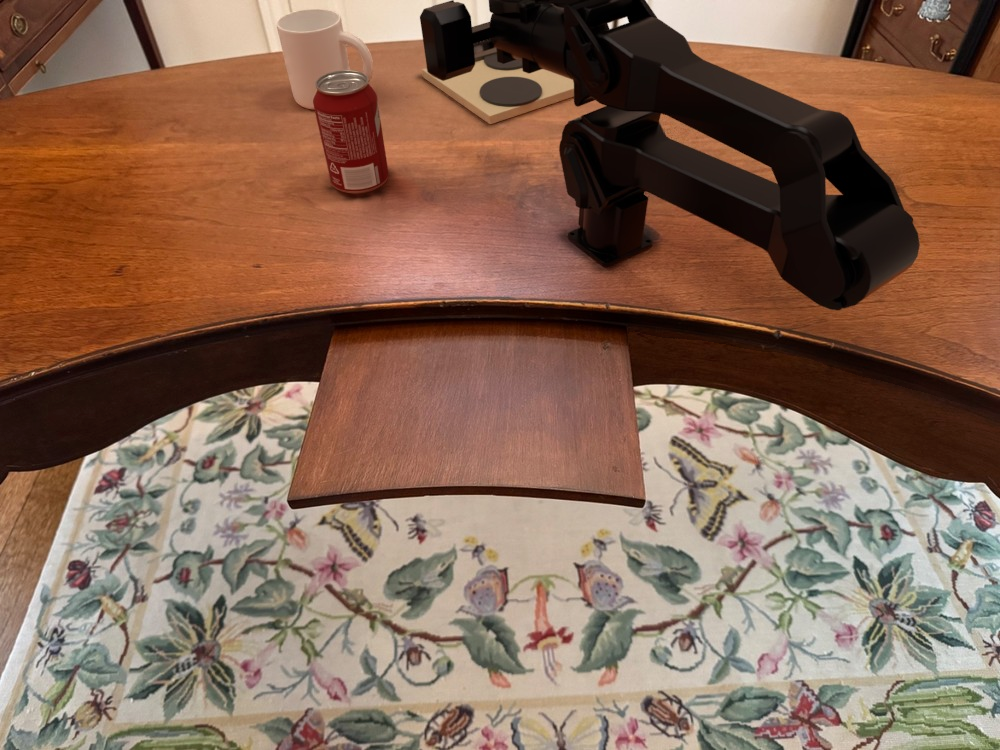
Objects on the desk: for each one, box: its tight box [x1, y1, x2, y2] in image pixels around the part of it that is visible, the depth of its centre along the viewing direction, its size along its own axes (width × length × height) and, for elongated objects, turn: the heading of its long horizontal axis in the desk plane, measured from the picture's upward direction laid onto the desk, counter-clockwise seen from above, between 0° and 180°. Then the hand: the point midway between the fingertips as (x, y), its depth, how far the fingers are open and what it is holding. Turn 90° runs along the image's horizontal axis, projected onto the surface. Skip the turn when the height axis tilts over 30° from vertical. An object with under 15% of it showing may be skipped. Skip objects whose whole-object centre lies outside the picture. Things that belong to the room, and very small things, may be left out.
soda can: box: [313, 69, 390, 195], centre depth 79 cm, size 7×7×12 cm
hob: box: [421, 48, 574, 125], centre depth 100 cm, size 18×16×2 cm
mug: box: [275, 8, 374, 111], centre depth 95 cm, size 12×8×10 cm
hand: (460, 8), depth 76 cm, fingers open, 9 cm apart
